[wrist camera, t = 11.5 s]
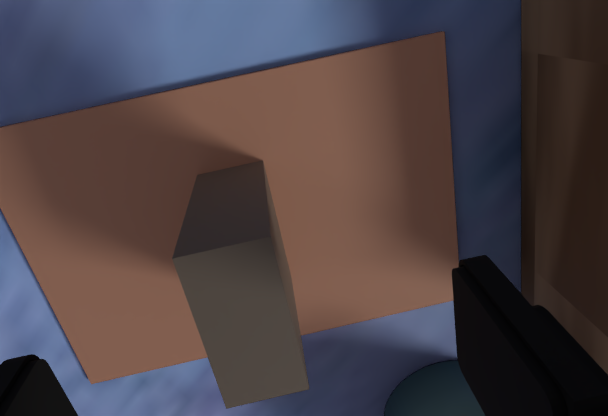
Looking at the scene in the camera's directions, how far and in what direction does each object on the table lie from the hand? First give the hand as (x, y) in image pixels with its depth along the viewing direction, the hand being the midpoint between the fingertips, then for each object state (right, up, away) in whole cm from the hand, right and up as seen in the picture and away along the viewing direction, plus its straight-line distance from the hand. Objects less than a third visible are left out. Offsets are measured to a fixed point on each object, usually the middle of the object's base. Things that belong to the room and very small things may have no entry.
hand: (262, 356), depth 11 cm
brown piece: (-1, +3, +8) cm, 8 cm away
